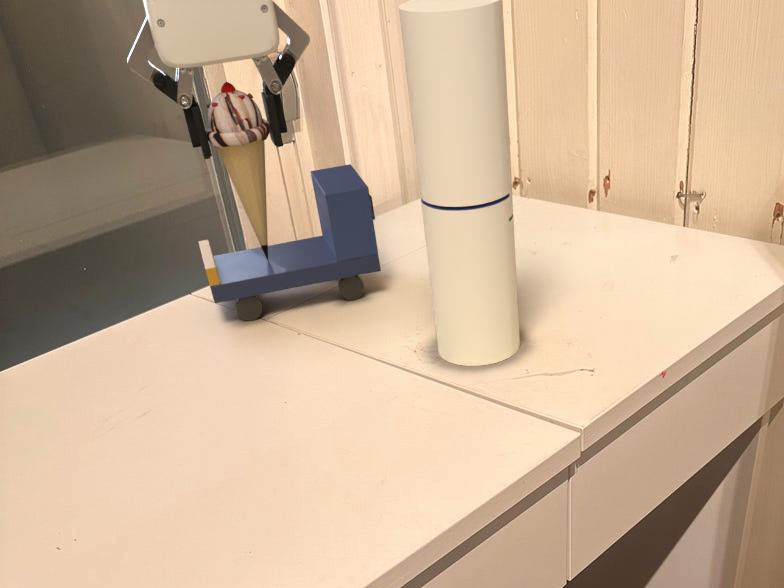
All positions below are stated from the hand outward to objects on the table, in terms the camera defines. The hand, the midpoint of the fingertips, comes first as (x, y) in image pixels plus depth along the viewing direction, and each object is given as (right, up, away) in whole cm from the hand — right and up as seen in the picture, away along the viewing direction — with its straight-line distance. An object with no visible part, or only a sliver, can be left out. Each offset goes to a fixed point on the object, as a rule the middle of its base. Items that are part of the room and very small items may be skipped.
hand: (241, 146), depth 81 cm
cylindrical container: (+21, -18, -1) cm, 28 cm away
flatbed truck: (+3, -10, +10) cm, 14 cm away
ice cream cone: (+1, -7, +7) cm, 10 cm away
